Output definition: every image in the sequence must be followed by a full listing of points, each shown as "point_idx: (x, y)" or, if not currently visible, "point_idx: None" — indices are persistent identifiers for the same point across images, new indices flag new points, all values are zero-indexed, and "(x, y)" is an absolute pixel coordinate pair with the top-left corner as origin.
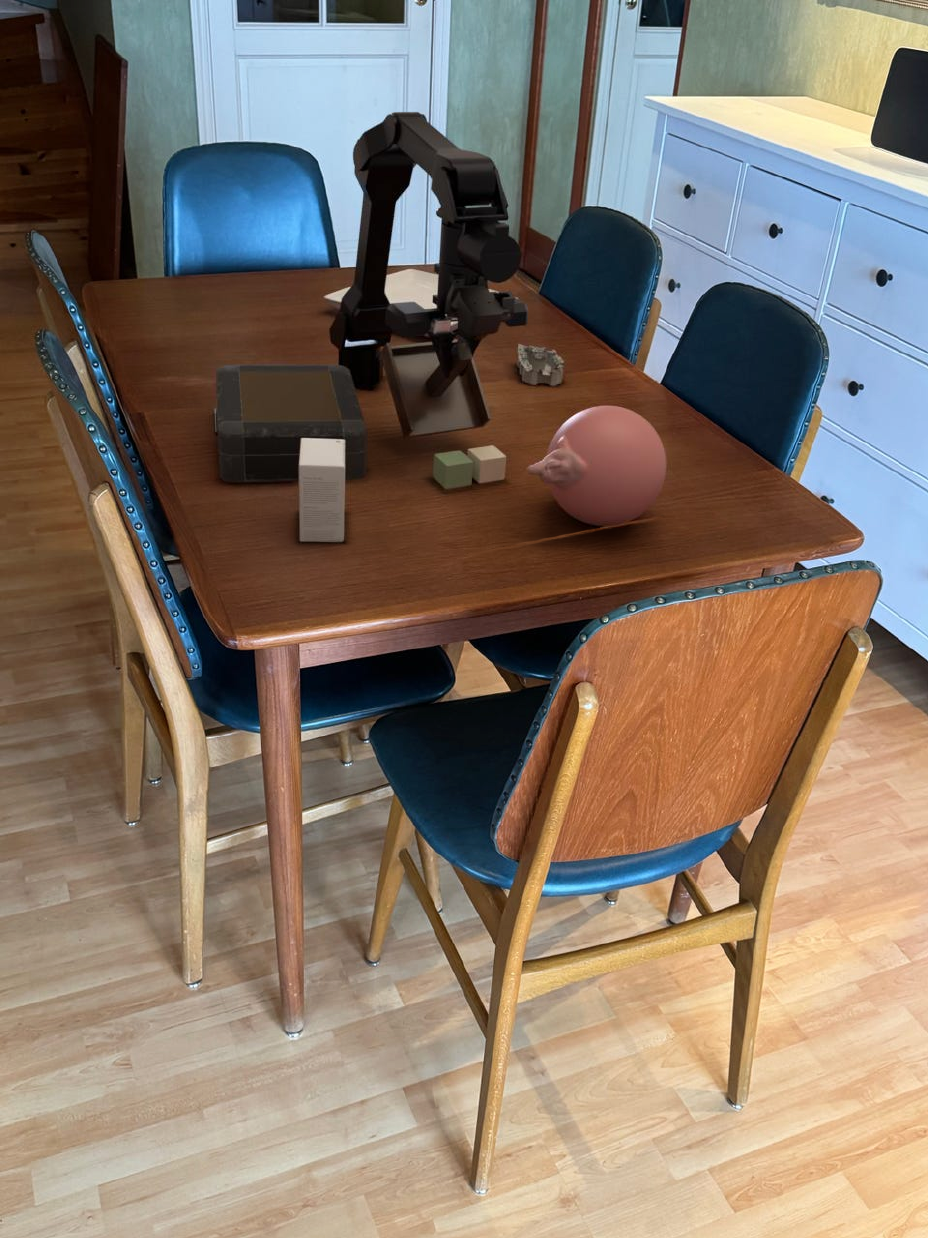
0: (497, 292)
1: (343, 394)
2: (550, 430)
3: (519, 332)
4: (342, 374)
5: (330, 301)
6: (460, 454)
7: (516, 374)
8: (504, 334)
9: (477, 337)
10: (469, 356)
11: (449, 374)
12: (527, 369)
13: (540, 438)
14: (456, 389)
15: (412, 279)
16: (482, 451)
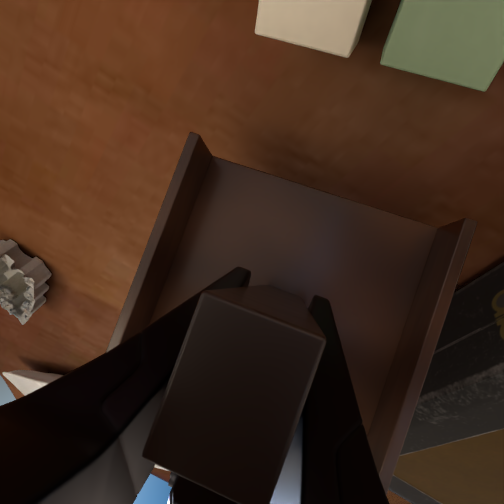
0: (19, 388)
1: (464, 423)
2: (57, 127)
3: (23, 339)
4: None
5: None
6: (410, 29)
7: (53, 289)
8: (40, 346)
9: (10, 468)
10: (218, 325)
11: (318, 305)
12: (31, 281)
13: (87, 109)
14: (213, 277)
15: None
16: (321, 3)
